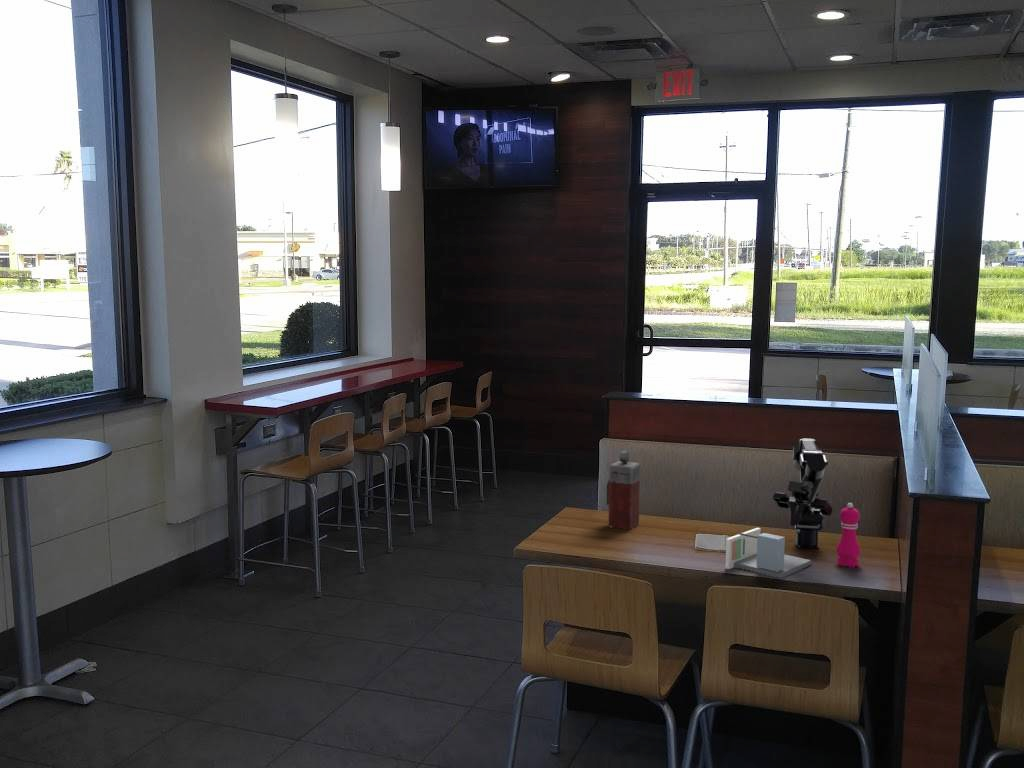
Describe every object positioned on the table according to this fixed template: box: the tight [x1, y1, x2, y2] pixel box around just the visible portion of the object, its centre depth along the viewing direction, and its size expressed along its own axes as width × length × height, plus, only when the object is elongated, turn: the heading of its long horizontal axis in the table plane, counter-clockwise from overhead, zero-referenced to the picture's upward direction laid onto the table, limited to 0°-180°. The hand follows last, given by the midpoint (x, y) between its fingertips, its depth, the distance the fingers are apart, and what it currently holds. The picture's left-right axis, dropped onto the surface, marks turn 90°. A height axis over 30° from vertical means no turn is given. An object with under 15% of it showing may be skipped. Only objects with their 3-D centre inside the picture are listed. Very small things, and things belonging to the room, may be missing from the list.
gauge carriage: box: [738, 532, 786, 572], centre depth 278 cm, size 5×14×10 cm, turn 45°
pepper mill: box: [835, 502, 862, 568], centre depth 284 cm, size 7×7×20 cm
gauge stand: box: [725, 527, 812, 579], centre depth 282 cm, size 22×17×10 cm
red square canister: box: [606, 450, 641, 530], centre depth 332 cm, size 9×11×28 cm
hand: (792, 525), depth 285 cm, fingers closed
